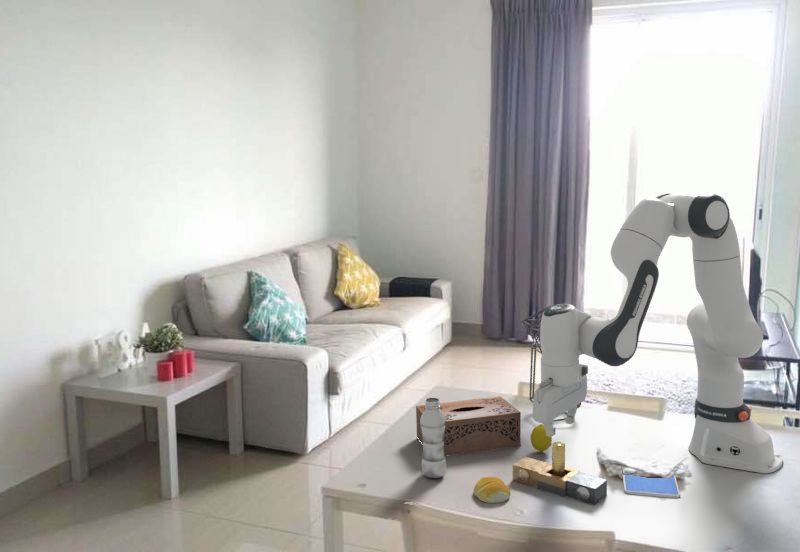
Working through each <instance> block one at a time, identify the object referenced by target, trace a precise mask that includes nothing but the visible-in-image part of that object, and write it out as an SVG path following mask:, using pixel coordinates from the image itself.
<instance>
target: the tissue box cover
mask: <svg viewBox="0 0 800 552" xmlns="http://www.w3.org/2000/svg"><path fill="white" fill-rule="evenodd" d="M439 409H440V411H441V412H442V413H443V415H444V417H445V420H446V421H445V431H444V453H445V457H448V456H447V455H450V456H455V455H456V454H457V455H462V454H463V455H464V454H465V455H466V454H472V453H479V452H485V451H493V450H500V449H501V450H502V449H508V448H515V447H521V446H522V443H521V441H522V440H521V435H522V434H521V433H522V432H521V431H522V430H521V429H522V428H521V427H522V426H521V424H522V423H521V421H522V420H521V418H522V417H521V411H519V410H518V409H517V408H516V407H515V406H513V405H512V404H511V403H509V402H508V400H506V399H504V397H502V396H498V395H497V396H492V397H491V396H490V397H482V398H473V399H467V400H466V399H464V400H458V401H457V400H455V401H447V402H440V408H439ZM425 410H426V408H425V404H423V405H416V406H415V415H416V417H415V419H416V420H415V421H416V422H415V423H416V438H417V437H418V438H419V440H420V441H421V442H422V444H423V436H422V429H421V423H420V419H421V416H422V414H423V412H424V411H425ZM419 440H418V441H419ZM422 444H421V445H422Z"/></svg>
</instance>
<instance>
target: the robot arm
mask: <svg viewBox="0 0 800 552" xmlns="http://www.w3.org/2000/svg"><path fill="white" fill-rule="evenodd" d="M670 236H671V237H678V238H688V237H689V238H690V241H691V242H692V245H691V246H692V261H693V262H692V263H693V273H694V282H695V289H696V291H697V293H698V295H699V296H700V298H701V300H702V303H701V304H698V305H695V306H694V307H692V308H691V310H690V311H689V313H687V314H688V315H687V319H686V326H687V329H688V330H689V332H690V335H691V339H692V345H693V349H694V354H695V359H696V365H697V389H696V390H697V393H696V394H697V395H696V398H695V402H694V411H693V413H694V419H695V421H694V426H693V427H694V428H693V433H692V436H691V440H690V443H689V445H688V451H689V452H690V453H691V454H692V455H694V456H695V457H697V458H698V459H699V460H700V461H701V463H703V464H707V465H713V466H719V467H725V468H729V469H737V470H742V471H747V472H754V473H759V474H770V473H773V472H775V471H777V470H779V469H780V468H781V467H782V466H783V463H784V459H783V455H782V454H781V453H780V452H778V451H775V450H774V443H773V439H772V436H771V434H770V433H768V432H767V431H766V430H764V429H763V428H762V427H761V426H760V425H758V423H756V422H755V421H754V420H753V419H751V416H752V415H751V414H752V413H751V412H752V409H753V406H752V405H750V406H747V404H745V403H744V385H745V383H744V382H745V373H744V371H743V368H742V366H741V363H740V361H739V358H740V359H746V358H750V357H752V356H754V355H755V354H757V353H758V352H759V350H760V349H761V348H762V345H763V342H764V333H763V331H762V328H761V327H760V325H759V324H758V322H757V321H756V318H755V316H754V314H753V312H752V309H751V305H750V302H749V299H748V297H747V294H746V290H745V286H744V282H743V273H742V262H741V252H740V243H739V239H738V234H737V231H736V227H735V223H734V221H733V219H732V218H731V214H730V208H729V206H728V204H727V201H726V200H725V199H724V197H722V196H720V195H718V194H715V193H712V192H694V191H684V192H678V193H665V194H661V195H658V196H656V197H648V198H644V199H642V200H641V201H639V202H638V204H636V206H635V207H634V208H633V210H632V211H631V212H630V213H629V214H628V216H627V218H626V219H625V221H624V222H623V224H622V225H621V227H620V229H619V230H618V233H617V234H616V236H615V238H614V240H613V242H612V245H611V249H610V257H611V261H612V263H613V265H614V267H615V268H616V269H617V270H618V271H619V272H620V273H621V274H622V275H624V277H625V278H626V281H627V288H626V290H625V294H624V296H623V298H622V300H621V303H620V306H619V308H618V312H617V314H616V316H614V318H611V319H608V318H605V317H602V316H599V315H595V314H592V313H588V312H585V311H582V310H580V309H578V308H576V306H575V305H574V304H570V303H560V304H559V303H558V304H557V303H556V304H552V305H553V306H552V305H549V306H550V307H548V306H547V307H548V308H547V309H546V310H545V311H544V312H542V314H543V315H542V314H541V315H542V317H541V318H542V319H541V318H540V319H541V321H540V327H541V328H539V330H540V334H539V339H540V343H539V344H541V345H540V348H541V350H542V354H541V357H540V383H539V384H538V388H537V389H535V390H534V398H533V399H532V400H533V403H532V419H533V421H534V422H537V423H540V424H543V425H544V427H545V429H546V435H547V436H549V437H552V438H553V437H554V436H555V435H556V427H554V422H555V421H554V420H556V419H557V418H558V417H560V416H561V415H564V414H563V413H565V412H567V414H566V415H565V417H564V418H565V421H564V422H565V424H567V425H572V424H574V423H575V421H576V418H575V417H576V413H577V410H578V408H577V405H578V404H580V403H581V404H582V403H583V402H585V400H586V398H587V396H588V395H587V394H588V376H587V375H588V374H589V366H588V365H587V364H582V363H580V356H582V355H585V356H588V357H591V358H594V359H595V360H598V361H600V362H602V363H604V364H606V365H608V366H610V367H620V366H622V365H625V364H626V363H627V362H629V361H630V360H631V359H632V358H633V357H634V355H635V354H636V351H637V349H638V344H639V338H640V333H641V329H642V326H643V323H644V320H645V318H646V316H647V313H648V310H649V307H650V305H651V303H652V299H653V297H654V293H655V291H656V288H657V284H658V282H659V281H658V280H659V276H660V273H659V268H658V261H659V260H660V259H659V258H660V256H661V254H662V252H663V251H664V250H663V249H664V248H665V246H666V244H667V242H668V240H669V238H670ZM541 381H542V383H541Z"/></svg>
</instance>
